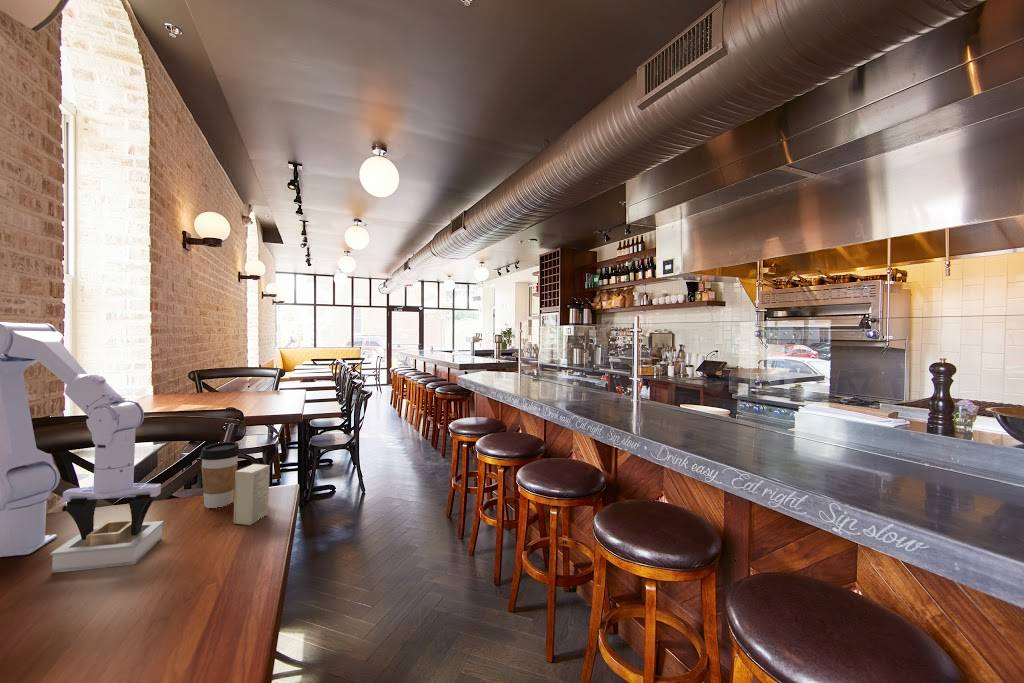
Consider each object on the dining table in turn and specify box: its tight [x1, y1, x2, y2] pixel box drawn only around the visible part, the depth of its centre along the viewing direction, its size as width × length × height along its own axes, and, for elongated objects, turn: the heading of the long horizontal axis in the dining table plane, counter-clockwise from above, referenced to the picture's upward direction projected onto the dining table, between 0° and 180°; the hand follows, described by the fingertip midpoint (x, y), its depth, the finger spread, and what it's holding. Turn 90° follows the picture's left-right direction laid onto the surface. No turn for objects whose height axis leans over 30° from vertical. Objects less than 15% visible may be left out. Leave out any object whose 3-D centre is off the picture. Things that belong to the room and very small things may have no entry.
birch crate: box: [86, 519, 136, 546], centre depth 85 cm, size 5×6×4 cm
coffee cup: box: [199, 441, 241, 509], centre depth 111 cm, size 8×8×15 cm
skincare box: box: [233, 463, 271, 526], centre depth 102 cm, size 6×4×12 cm
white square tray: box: [50, 520, 165, 574], centre depth 84 cm, size 12×11×4 cm
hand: (111, 535), depth 84 cm, fingers open, 7 cm apart
